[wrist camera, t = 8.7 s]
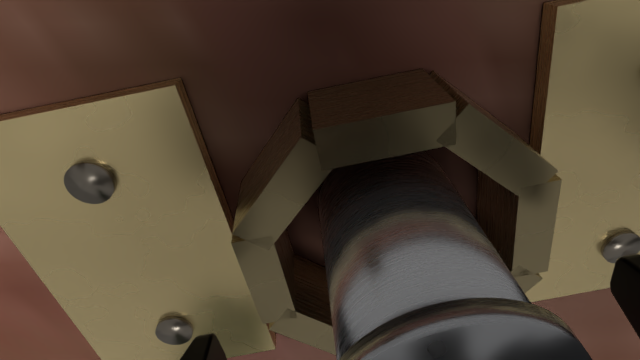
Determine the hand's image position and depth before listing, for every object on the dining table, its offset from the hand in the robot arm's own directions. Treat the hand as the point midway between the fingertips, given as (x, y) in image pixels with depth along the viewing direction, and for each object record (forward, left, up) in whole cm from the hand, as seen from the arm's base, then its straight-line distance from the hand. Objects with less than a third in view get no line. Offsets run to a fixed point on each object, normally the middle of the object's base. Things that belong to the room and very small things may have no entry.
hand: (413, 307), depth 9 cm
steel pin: (0, 0, -4) cm, 4 cm away
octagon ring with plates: (0, 0, -4) cm, 4 cm away
